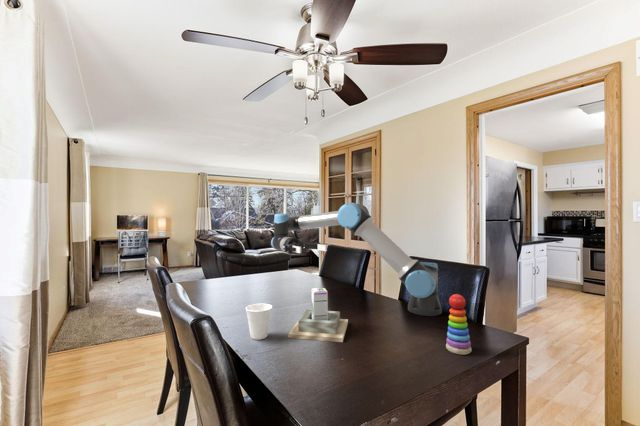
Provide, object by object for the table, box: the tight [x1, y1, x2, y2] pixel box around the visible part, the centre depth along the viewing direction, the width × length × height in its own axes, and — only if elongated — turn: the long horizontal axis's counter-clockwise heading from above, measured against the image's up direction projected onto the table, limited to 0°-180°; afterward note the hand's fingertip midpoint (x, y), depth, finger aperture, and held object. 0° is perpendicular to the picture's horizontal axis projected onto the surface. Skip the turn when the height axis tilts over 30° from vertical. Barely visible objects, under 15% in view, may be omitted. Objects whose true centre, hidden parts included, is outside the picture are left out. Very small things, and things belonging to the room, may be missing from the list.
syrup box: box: [311, 287, 329, 320], centre depth 122 cm, size 6×6×14 cm
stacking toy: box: [445, 293, 473, 355], centre depth 105 cm, size 8×8×19 cm
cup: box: [245, 303, 273, 341], centre depth 116 cm, size 10×10×11 cm
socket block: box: [287, 309, 349, 343], centre depth 123 cm, size 20×20×6 cm
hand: (313, 249), depth 138 cm, fingers open, 13 cm apart
